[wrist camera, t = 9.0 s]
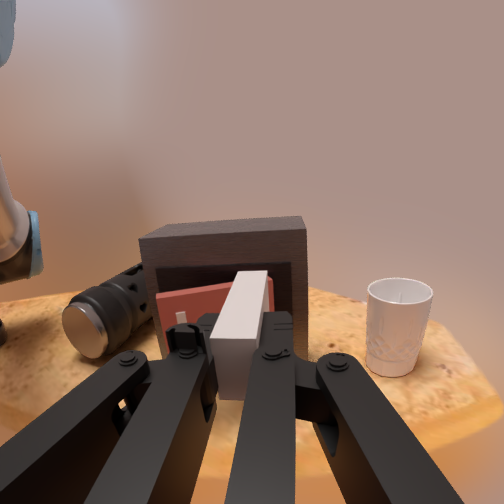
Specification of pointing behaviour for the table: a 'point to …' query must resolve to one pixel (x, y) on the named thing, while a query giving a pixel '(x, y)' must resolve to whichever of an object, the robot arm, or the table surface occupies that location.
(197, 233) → the switch box
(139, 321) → the muzzle brake
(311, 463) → the table surface
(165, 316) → the rocker
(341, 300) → the table surface
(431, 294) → the white cup
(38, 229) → the robot arm
